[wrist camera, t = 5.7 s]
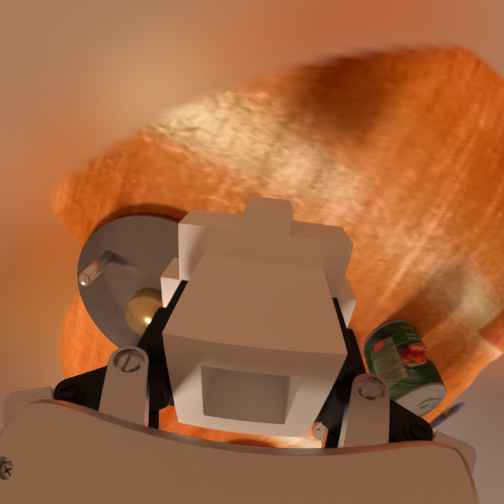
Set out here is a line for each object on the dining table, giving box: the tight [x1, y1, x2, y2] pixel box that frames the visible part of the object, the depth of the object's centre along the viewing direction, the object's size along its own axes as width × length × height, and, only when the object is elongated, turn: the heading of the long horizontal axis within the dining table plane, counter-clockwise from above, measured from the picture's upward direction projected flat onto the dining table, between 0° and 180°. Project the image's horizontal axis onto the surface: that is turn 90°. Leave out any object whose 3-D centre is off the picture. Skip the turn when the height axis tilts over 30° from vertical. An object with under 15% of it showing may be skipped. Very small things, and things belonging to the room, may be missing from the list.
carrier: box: [77, 213, 181, 405], centre depth 27 cm, size 22×22×9 cm
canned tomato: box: [363, 320, 447, 417], centre depth 27 cm, size 8×8×11 cm
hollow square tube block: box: [161, 196, 357, 437], centre depth 11 cm, size 9×9×7 cm
